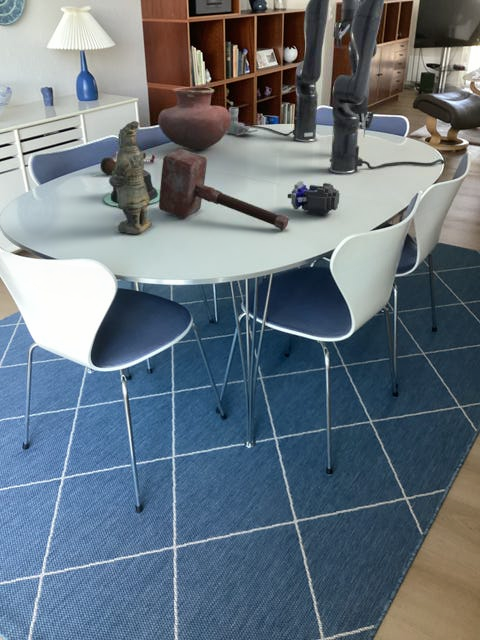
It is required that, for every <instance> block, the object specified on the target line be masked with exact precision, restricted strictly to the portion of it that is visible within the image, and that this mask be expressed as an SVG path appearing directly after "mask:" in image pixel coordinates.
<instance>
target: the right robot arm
mask: <svg viewBox="0 0 480 640" xmlns="http://www.w3.org/2000/svg"><path fill="white" fill-rule="evenodd" d="M384 5H385V0H359V6H358V7H357V9H356V11H355V13H354V17H353V22H352V26H351V33H349V35H350V41H349V43H348V46H347V49H348V51H347V52H348V57H349V62H350V69H351V70H350V75H348V74H344V75H343V74H342V75H341V74H340V75H339V76H337V77H336V78H335V80H334V82H333V87H332V88H333V89H332V111H331V112H332V121H333V123H332V124H333V125H332V136H331V138H332V139H331V153H330V158H329V163H330V168H329V171H330V172H331V173H334V174H340V175H346V174H352V173H355V172H358V167H363V164H365V165H366V166H367V168H368V169H370V170H376V169H380V168H384V167H390V166H398V165H415V166H433V165H436V164H438V163H442V164H446V162H445V160H444V159H442V158H439V159H438V158H437V159H436V160H434V161H432V162H419V161H392V162H386V163H385V162H384V163H383V164H380V165H376V166H372V165H371V164H370V162H369V161H366V160H363V159H362V158H361V157H359V151H360V145H359V144H358V142H357V140H358V128H360V129H363V130H364V136H365V134H366V129H369V128H370V127H371V125H372V120H373V117H374V112H372V111H368V106H369V96H370V77H371V76H370V75H371V66H372V60H373V58H374V57H375V56H376V54H377V53H378V44H377V37H378V34H379V29H380V25H381V20H382V16H383V15H382V14H383V11H384V10H383V9H384Z"/></svg>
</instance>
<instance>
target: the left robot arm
mask: <svg viewBox="0 0 480 640" xmlns="http://www.w3.org/2000/svg"><path fill="white" fill-rule="evenodd" d="M329 3H330V0H309V1H308V3H307V5H306V6H305V11H304V12H305V13H304V19H303V20H304V21H303V33H304V43H305V44H304V46H305V47H304V48H305V49H304V56H303V60H302V61H300V62H299V63H298V65H297V66H296V70H295V94H296V110H295V111H296V113H295V117H294V118H293V119H294V120H293V129H292V130H291V131H289V132H288V133H283V132H280V131H277V130H274V129H273V128H269V127H265V126H259V125H252V124H246V123H244V126H246V127H249V128H257V129H263V130H268V131H271V132H273V133H275V134H279V135H282V136H290V135H291V134H292V136H293V141H297V142H302V143H310V142H314V141H316V140H317V119H318V118H317V117H318V96H319V95H318V91H317V82H318V81H319V80H320V77H321V75H322V57H323V55H322V54H323V47H324V41H325V34H326V28H327V23H328V21H327V20H328V13H329ZM358 6H359V0H342V1H341V15H340V22H334V26H333V33H332V37H333V38H335V39H336V47H337V48H338V49H341V48H342V41H343V40H342V37H343V36H344V35H346V34H350V33H351V26H352V22H353V17H354V13H355V11H356V9H357V7H358ZM239 123H243V121H239Z"/></svg>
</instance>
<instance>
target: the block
mask: <svg viewBox="0 0 480 640" xmlns="http://www.w3.org/2000/svg"><path fill="white" fill-rule="evenodd" d="M364 138H365V135H364V130H363V129H360V127H359V128H358V140H357V143H362V142H363V143H364Z"/></svg>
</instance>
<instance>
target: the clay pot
mask: <svg viewBox="0 0 480 640" xmlns="http://www.w3.org/2000/svg"><path fill="white" fill-rule="evenodd" d="M172 92H173V93H175V95H176V97H177V104H176V105H175V106H174V107H170V108H169V107H168V108H164V109H163V110H161V111H160V113H159V115H158V120H157V123H158V127H159V129H160V130H161V132H162V133H163V135H164V136H165V137H166V138H167V139H168V140H170V141H171V142H172V143H174V144H175V145H177V146H180V147H182V148H186V149H190V150H193V151H197V150H198V151H200V150H205V149H208V148H210V147H213V146H214V145H216V144H217V143H220V141H221V140H222V139H223V138H224V136H225V135H226V134H227V130H228V127H229V125H230V122H231V116H230V113H229V110H228V109H226V108H225V107H224V106H221V105H211V103H212V102H211V100H212V96H213V94H214V92H215V89H214V88H211V87H207V86H186V87H185V86H184V87H176V88H173V89H172Z"/></svg>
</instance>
